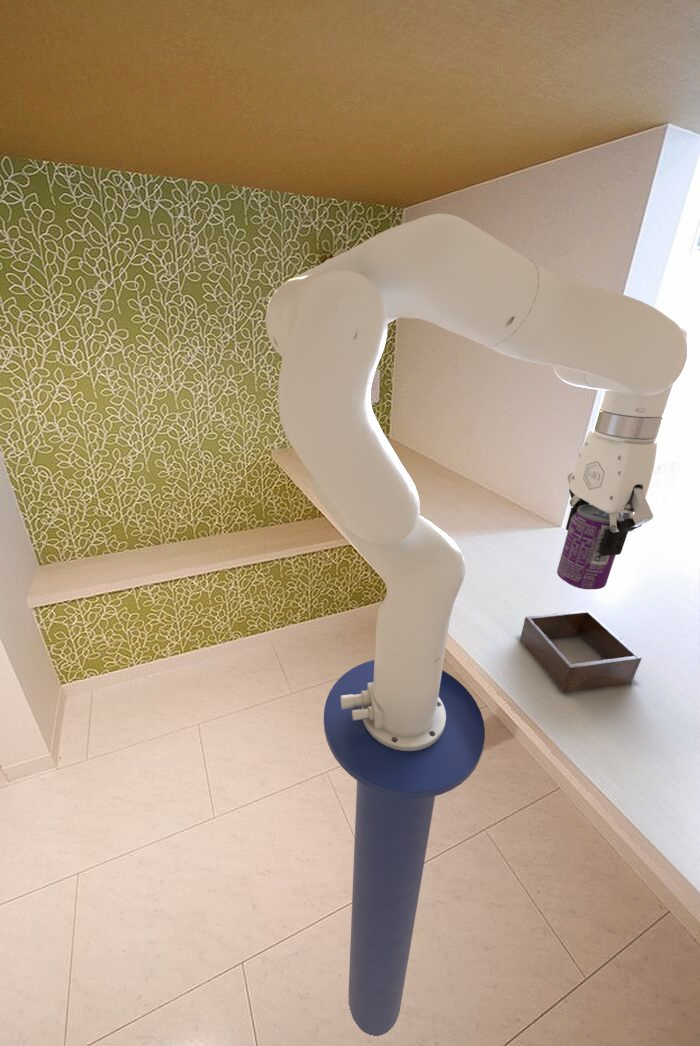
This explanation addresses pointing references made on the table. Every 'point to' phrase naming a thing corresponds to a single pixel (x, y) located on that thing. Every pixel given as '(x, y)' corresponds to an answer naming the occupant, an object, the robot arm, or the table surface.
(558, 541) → the table surface
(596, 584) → the beverage can
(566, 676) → the crate
